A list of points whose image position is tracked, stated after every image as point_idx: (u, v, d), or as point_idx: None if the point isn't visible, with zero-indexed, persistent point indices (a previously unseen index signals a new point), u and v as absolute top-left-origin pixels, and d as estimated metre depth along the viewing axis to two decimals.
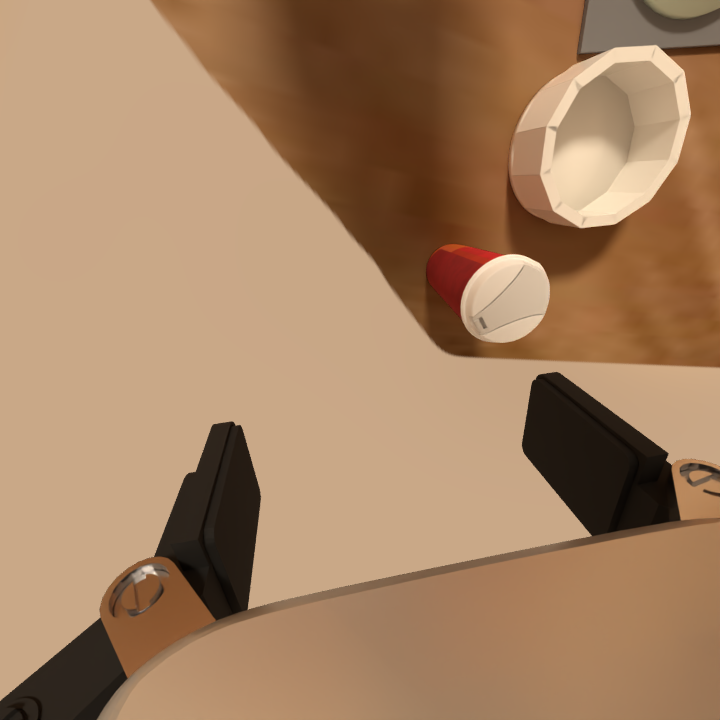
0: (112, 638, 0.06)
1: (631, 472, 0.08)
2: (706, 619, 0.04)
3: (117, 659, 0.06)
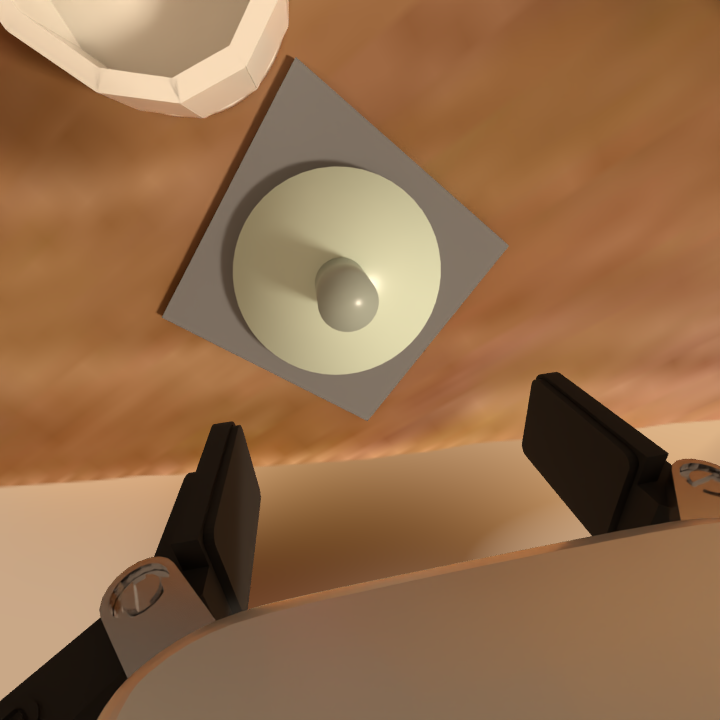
0: (112, 638, 0.06)
1: (631, 472, 0.08)
2: (705, 618, 0.04)
3: (117, 659, 0.06)
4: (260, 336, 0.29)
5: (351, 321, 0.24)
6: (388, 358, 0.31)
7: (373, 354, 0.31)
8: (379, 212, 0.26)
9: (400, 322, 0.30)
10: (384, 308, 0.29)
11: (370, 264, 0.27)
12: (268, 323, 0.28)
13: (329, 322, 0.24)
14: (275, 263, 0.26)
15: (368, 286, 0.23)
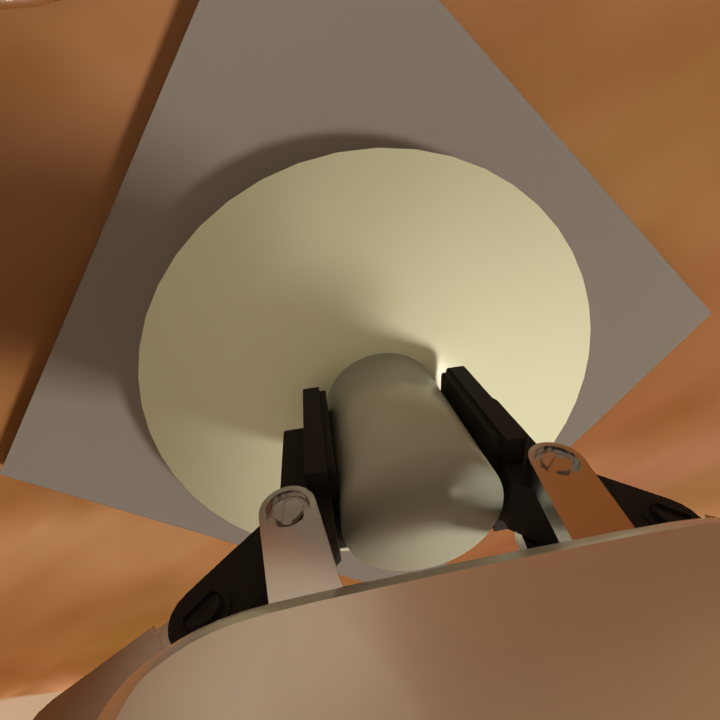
0: (261, 536, 0.07)
1: (498, 454, 0.09)
2: (707, 620, 0.04)
3: (262, 552, 0.07)
4: (213, 504, 0.14)
5: (427, 550, 0.09)
6: None
7: None
8: (477, 257, 0.11)
9: None
10: None
11: (446, 363, 0.13)
12: (229, 481, 0.14)
13: (370, 558, 0.09)
14: (237, 372, 0.12)
15: (483, 476, 0.08)
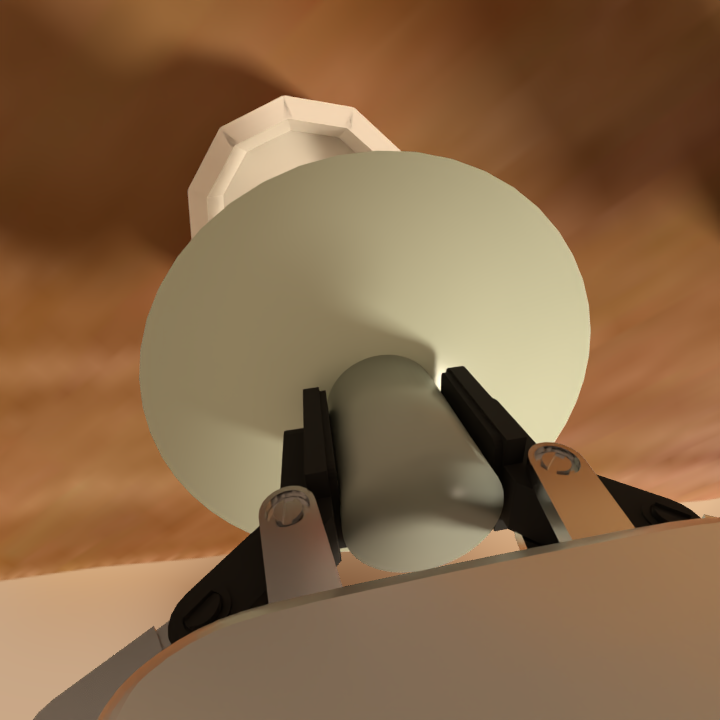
0: (261, 536, 0.07)
1: (498, 454, 0.09)
2: (706, 619, 0.04)
3: (262, 552, 0.07)
4: (214, 505, 0.14)
5: (427, 552, 0.09)
6: None
7: None
8: (477, 259, 0.11)
9: None
10: None
11: (446, 365, 0.13)
12: (230, 482, 0.14)
13: (371, 559, 0.09)
14: (238, 374, 0.12)
15: (483, 478, 0.08)
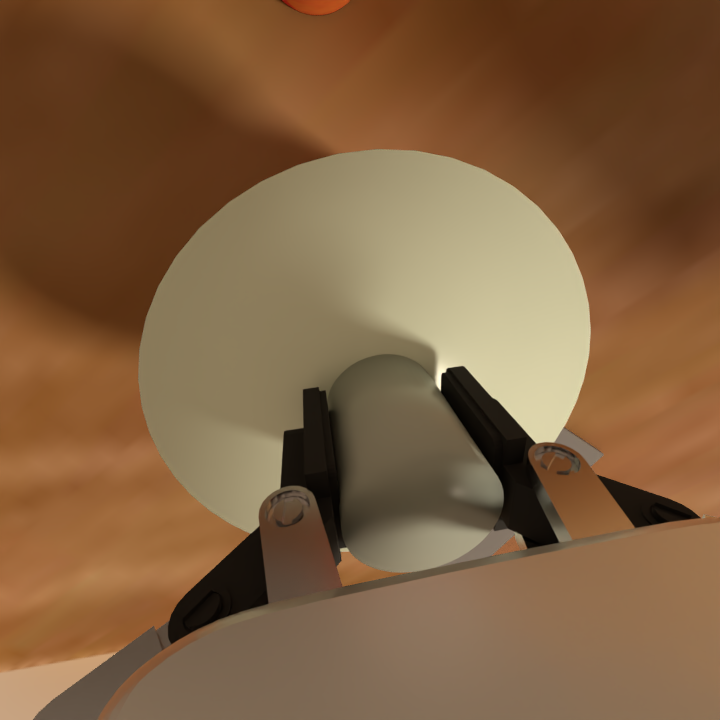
0: (261, 536, 0.07)
1: (498, 454, 0.09)
2: (705, 618, 0.04)
3: (262, 552, 0.07)
4: (214, 505, 0.14)
5: (427, 551, 0.09)
6: None
7: None
8: (477, 258, 0.11)
9: None
10: None
11: (446, 364, 0.13)
12: (229, 482, 0.14)
13: (370, 559, 0.09)
14: (237, 373, 0.12)
15: (483, 478, 0.08)
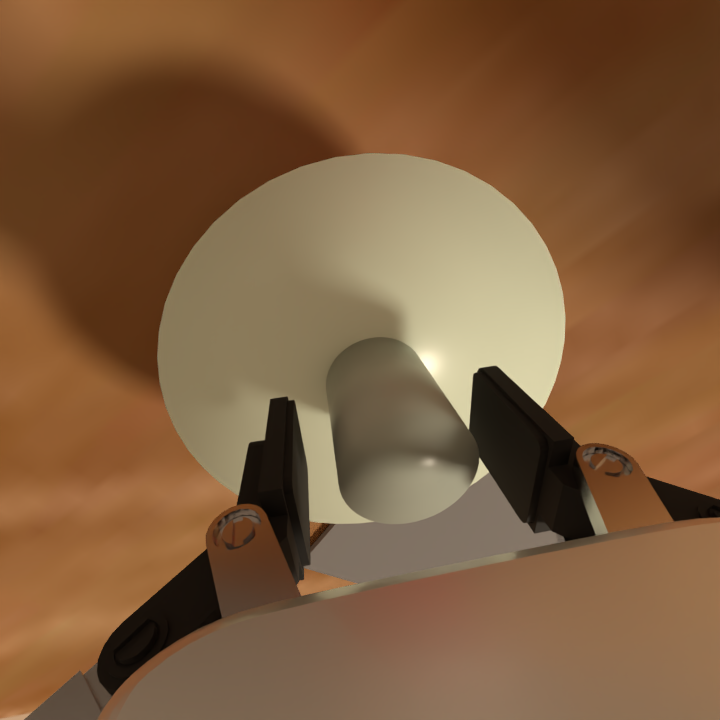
0: (211, 562, 0.07)
1: (543, 456, 0.09)
2: (706, 619, 0.04)
3: (213, 580, 0.07)
4: (223, 477, 0.15)
5: (413, 505, 0.11)
6: None
7: None
8: (460, 250, 0.12)
9: None
10: None
11: (434, 347, 0.14)
12: (237, 455, 0.15)
13: (364, 511, 0.10)
14: (245, 354, 0.13)
15: (460, 437, 0.10)
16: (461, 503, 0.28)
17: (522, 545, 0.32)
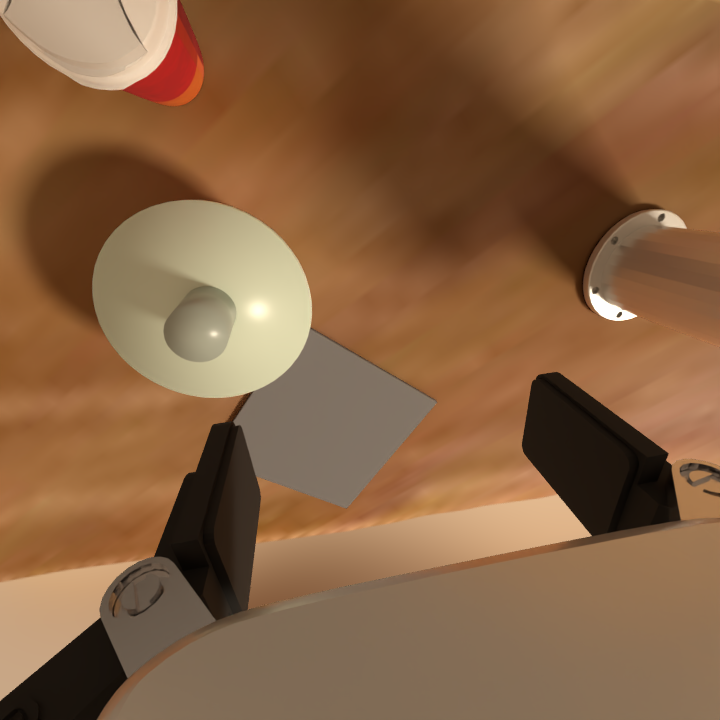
0: (112, 638, 0.06)
1: (631, 472, 0.08)
2: (705, 619, 0.04)
3: (117, 659, 0.06)
4: (132, 363, 0.29)
5: (202, 352, 0.24)
6: (271, 380, 0.32)
7: (254, 377, 0.32)
8: (238, 243, 0.27)
9: (277, 346, 0.31)
10: (258, 333, 0.30)
11: (237, 292, 0.28)
12: (139, 350, 0.29)
13: (179, 353, 0.24)
14: (137, 293, 0.27)
15: (214, 318, 0.24)
16: (317, 414, 0.42)
17: (370, 449, 0.46)
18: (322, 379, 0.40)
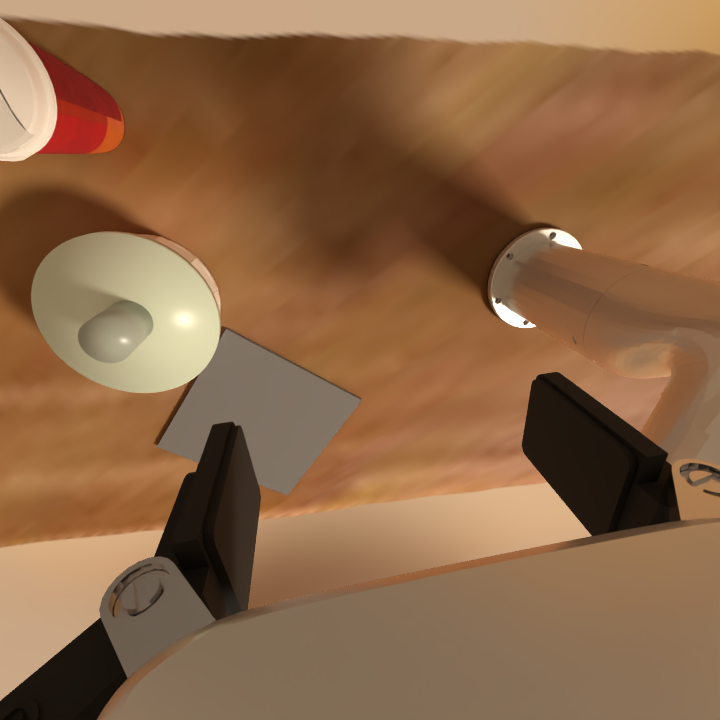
0: (112, 638, 0.06)
1: (631, 472, 0.08)
2: (705, 618, 0.04)
3: (117, 659, 0.06)
4: (70, 363, 0.35)
5: (112, 355, 0.30)
6: (190, 379, 0.38)
7: (175, 376, 0.37)
8: (148, 265, 0.32)
9: (192, 350, 0.36)
10: (174, 339, 0.36)
11: (152, 305, 0.34)
12: (74, 352, 0.35)
13: (93, 356, 0.30)
14: (68, 306, 0.33)
15: (118, 328, 0.30)
16: (250, 409, 0.48)
17: (303, 441, 0.52)
18: (252, 378, 0.46)
